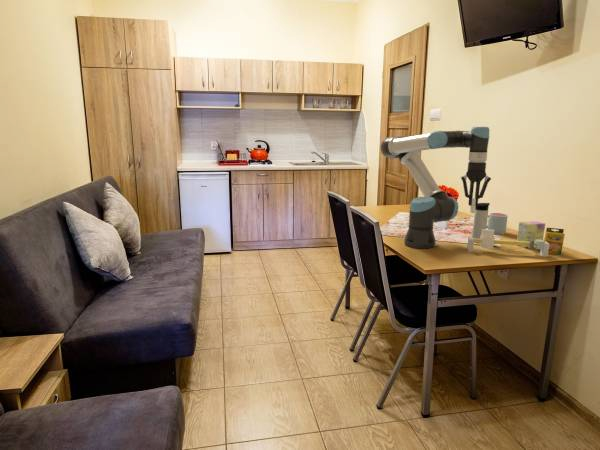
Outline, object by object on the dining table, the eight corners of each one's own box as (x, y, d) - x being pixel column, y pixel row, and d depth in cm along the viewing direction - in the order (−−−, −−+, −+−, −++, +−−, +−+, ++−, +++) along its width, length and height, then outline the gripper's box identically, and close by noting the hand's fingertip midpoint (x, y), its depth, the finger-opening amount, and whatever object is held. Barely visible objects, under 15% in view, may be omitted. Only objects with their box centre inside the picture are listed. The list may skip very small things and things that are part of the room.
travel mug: (486, 243, 209) (491, 204, 204) (472, 242, 210) (477, 203, 205) (483, 239, 215) (488, 202, 210) (470, 239, 216) (474, 201, 211)
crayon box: (543, 252, 194) (547, 228, 191) (542, 250, 196) (545, 227, 193) (561, 254, 191) (565, 230, 188) (560, 252, 194) (564, 228, 191)
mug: (505, 231, 232) (507, 213, 229) (505, 235, 224) (507, 217, 221) (479, 228, 238) (481, 211, 235) (477, 232, 230) (479, 214, 227)
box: (533, 243, 208) (536, 220, 206) (542, 246, 203) (545, 223, 200) (515, 244, 206) (518, 221, 203) (524, 248, 201) (527, 224, 198)
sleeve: (481, 247, 193) (483, 230, 191) (479, 244, 197) (481, 228, 196) (493, 247, 192) (495, 231, 190) (490, 245, 196) (492, 228, 194)
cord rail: (468, 251, 195) (469, 237, 193) (467, 249, 199) (468, 235, 197) (547, 256, 188) (549, 241, 186) (544, 253, 192) (546, 239, 190)
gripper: (463, 162, 185) (458, 213, 190) (494, 162, 182) (488, 214, 187) (460, 160, 192) (456, 210, 197) (490, 161, 189) (485, 211, 194)
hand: (472, 212), depth 192 cm, fingers closed
